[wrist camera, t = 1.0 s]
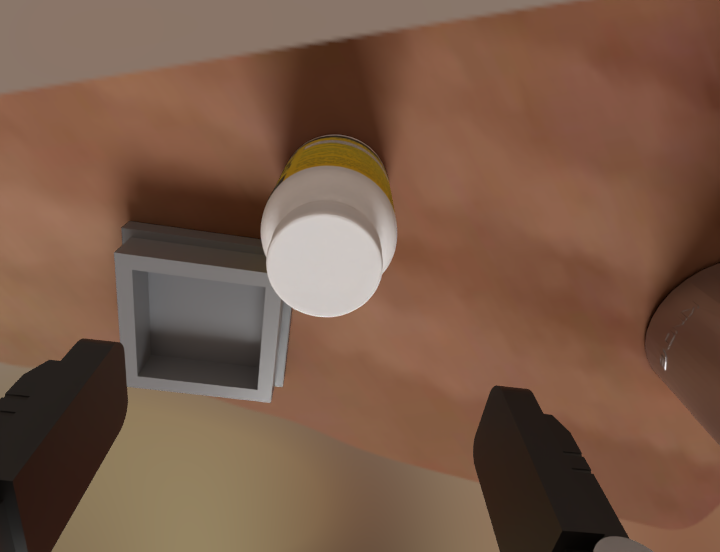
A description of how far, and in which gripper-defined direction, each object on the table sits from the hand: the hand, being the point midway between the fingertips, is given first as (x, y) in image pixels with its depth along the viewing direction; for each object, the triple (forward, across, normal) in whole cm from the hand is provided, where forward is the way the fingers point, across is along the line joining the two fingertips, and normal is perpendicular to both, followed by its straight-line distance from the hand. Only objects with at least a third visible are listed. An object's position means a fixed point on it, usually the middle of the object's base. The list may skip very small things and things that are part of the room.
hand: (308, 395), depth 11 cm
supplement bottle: (+16, 0, 0) cm, 17 cm away
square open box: (+16, +6, +8) cm, 19 cm away
